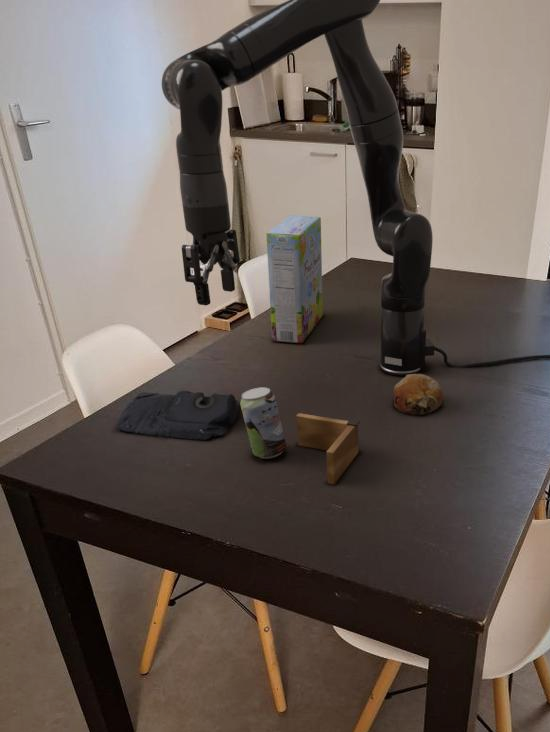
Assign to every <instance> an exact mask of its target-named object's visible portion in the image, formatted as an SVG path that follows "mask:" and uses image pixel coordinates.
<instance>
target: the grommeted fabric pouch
mask: <svg viewBox="0 0 550 732" xmlns="http://www.w3.org/2000/svg"><path fill="white" fill-rule="evenodd" d="M239 407H240V402H239V401H238V400H237V399H236V397H235V396H234V395H233V394H232V393H230V394H229V393H228V394H219V393H213V394H211V395H210V396H205V394H204V392H200V391H198V392H192V391H189V390H180V391H178V392H176V394H160V393H158V392H140V393H139V394H137V395H136V396H135V397H133V399H132V400H131V401H130V402H129V403H127V405H126V406H125V408H124V409H123V410H122V411H121V414H120V416H119V417H118V419H117V420H116V423H115V424H116V425H115V427H114V428H115V429H116V430H119V431H122V432H127V433H130V434H135V435H145V436H149V437H150V436H151V437H152V436H155V437H161V438H162V437H163V438H164V437H165V438H172V439H176V438H177V439H185V440H195V441H196V440H197V441H198V440H201V441H206V440H210V439H212V438H213V437H215V438H216V437H220V438H222V437H223V436H224V435H225V434H226V433H227V432H228V431H229V430H228V429H229V427H230V426H232V425H233V424H234V422H235V420H236V419H237V417H238V413H239V409H240V408H239Z"/></svg>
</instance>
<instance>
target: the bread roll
mask: <svg viewBox="0 0 550 732" xmlns="http://www.w3.org/2000/svg"><path fill="white" fill-rule="evenodd" d="M392 395H393V405H394V408H395V409H396V410H397V411H398V412H400V413H403V414H408V415H413V416H417V415H420V416H422V415H426V414H427V415H428V414H430V413H432V412H434V411H436V410H438V409H439V408H440V406H441V405H442V404H443V389H442V387H441V385H440V383H439V382H438V381H437V380H436V379H434V378H433V377H431V376H428V375H426V374H422V373H416V374H408V375H406V376H404V377H403V378H402V379H400V381H398V382H397V383H396V384H395V385H394V388H393V394H392Z"/></svg>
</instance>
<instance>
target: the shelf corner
mask: <svg viewBox="0 0 550 732" xmlns="http://www.w3.org/2000/svg"><path fill="white" fill-rule="evenodd" d="M295 417H296V418H295V419H296V430H297V445H298V446H300V447H305V448H310V449H317V450H322V451H326V452H325V454H326V472H327V484H331V485H335V484H336V483H337V481H338V480H339V479H340V477H341V476H342V475H343V474H344V472H345V471H346V470H347V468H348V467H349V466H350V464H351V463H352V462H353V460H354V459H355V458H356V456H357V455H358V454H359V424H360V423H361V420H360V419H354V418H350V419H349V420H344V419H338V418H331V417H325V416H319V415H318V416H317V415H312V414H306V413H300V412H299V413H297V414H296V416H295Z"/></svg>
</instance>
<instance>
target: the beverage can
mask: <svg viewBox="0 0 550 732" xmlns="http://www.w3.org/2000/svg"><path fill="white" fill-rule="evenodd" d="M239 403H240V404H239V406H240V408H241V413H242V417H243V420H244V424H245V429H246V431H247V436H248V441H249V444H250V447H251V450H252V454H253V456H255V457H257V458H260V459H265V460H266V459H267V460H268V459H272V458H273V459H274V458H276V457H278V456H280V455H281V454H282V453H283V452H284V451H285V450H286V449H287V442H286V437H285V434H284V433H285V432H284V429H283V424H282V420H281V415H280V412H279V406H278V403H277V399H276V395H275V394H274V393H273V392H272V391H271V389H270V388H269V387H265V386H261V387H255V388H250V389H248V390H246V391H244V392H243V393H242V394H241V400H240V402H239Z"/></svg>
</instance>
